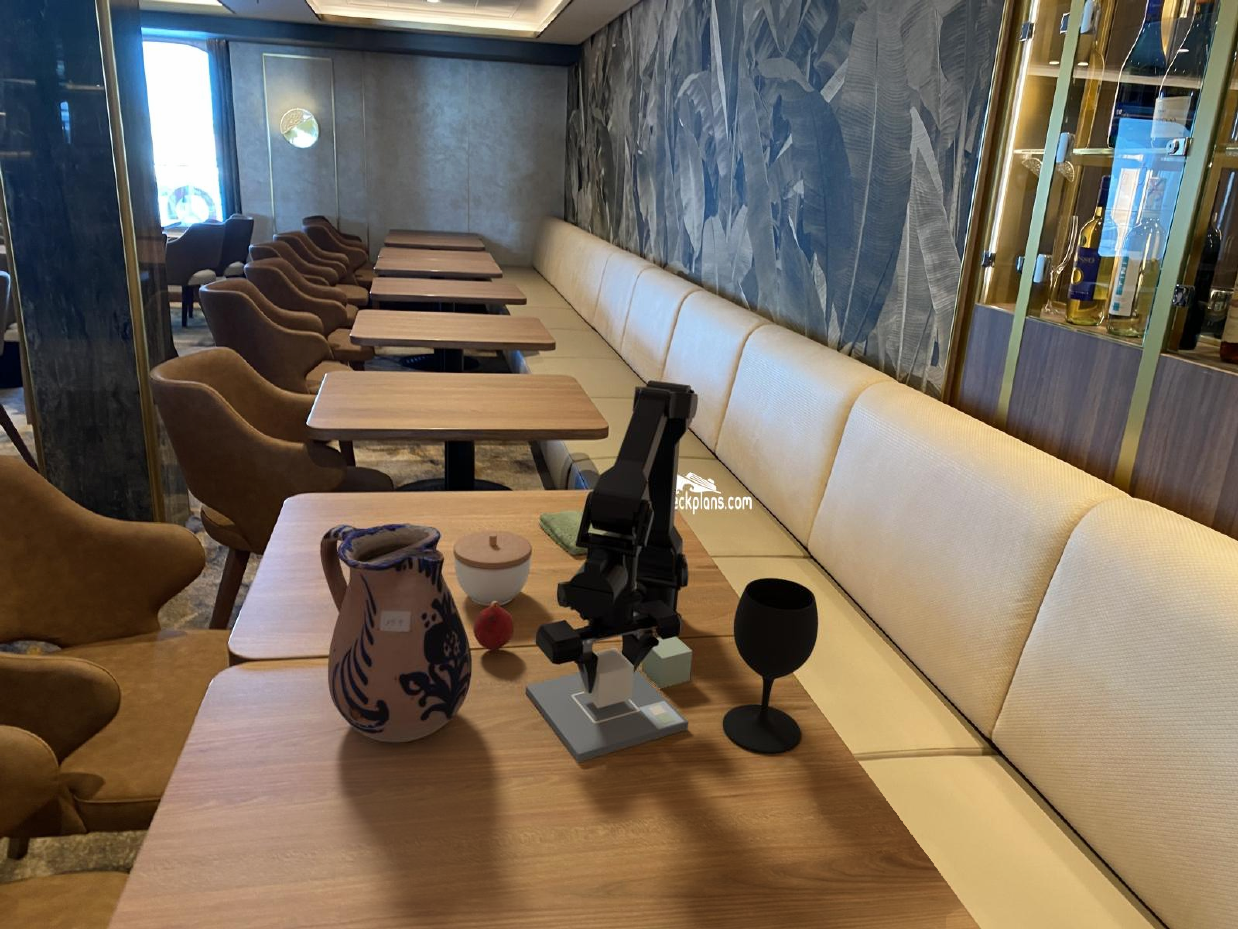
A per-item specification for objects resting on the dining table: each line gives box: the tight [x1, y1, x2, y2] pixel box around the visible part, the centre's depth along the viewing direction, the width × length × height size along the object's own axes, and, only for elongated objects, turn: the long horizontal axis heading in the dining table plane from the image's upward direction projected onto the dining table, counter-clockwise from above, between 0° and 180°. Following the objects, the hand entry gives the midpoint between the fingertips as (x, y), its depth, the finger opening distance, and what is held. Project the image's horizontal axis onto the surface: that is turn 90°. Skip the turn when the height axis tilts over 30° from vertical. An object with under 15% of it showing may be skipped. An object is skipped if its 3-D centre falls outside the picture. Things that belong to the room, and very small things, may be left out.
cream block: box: [580, 647, 634, 708], centre depth 115 cm, size 5×5×5 cm
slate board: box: [525, 668, 689, 763], centre depth 117 cm, size 16×16×1 cm
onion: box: [473, 601, 515, 652], centre depth 128 cm, size 6×6×8 cm
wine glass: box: [722, 577, 819, 755], centre depth 112 cm, size 10×10×20 cm
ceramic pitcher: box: [319, 522, 473, 743], centre depth 109 cm, size 18×21×25 cm
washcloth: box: [538, 509, 606, 556], centre depth 171 cm, size 13×18×3 cm
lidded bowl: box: [453, 530, 533, 607], centre depth 144 cm, size 13×13×11 cm
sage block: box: [641, 636, 693, 689], centre depth 125 cm, size 5×5×5 cm
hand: (606, 687), depth 116 cm, fingers closed on cream block, 5 cm apart
